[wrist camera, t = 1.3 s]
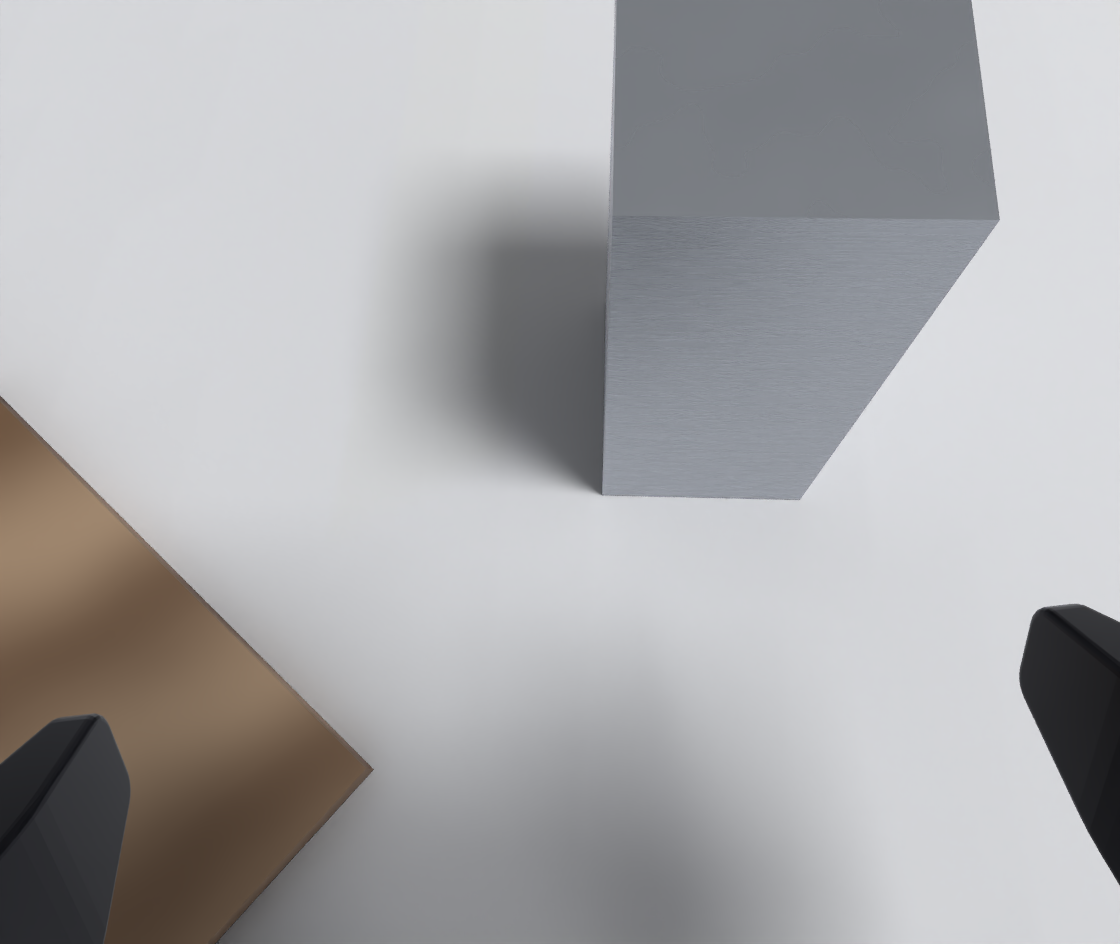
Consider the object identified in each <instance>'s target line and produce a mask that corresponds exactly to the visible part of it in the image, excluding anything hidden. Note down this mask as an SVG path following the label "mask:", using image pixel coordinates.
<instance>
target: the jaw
mask: <svg viewBox="0 0 1120 944" xmlns="http://www.w3.org/2000/svg"><path fill="white" fill-rule="evenodd" d="M999 220H1000V219H999V211H998V203H997V195H996V188H995V180H994V172H993V164H992V157H991V149H990V141H989V133H988V126H987V118H986V110H985V103H984V95H983V87H982V79H981V72H980V64H979V56H978V48H977V41H976V33H975V25H974V18H973V10H972V2H971V0H615V24H614V57H613V90H612V122H611V155H610V187H609V220H608V253H607V285H606V326H605V375H604V425H603V475H602V495H615V496H659V497H703V498H747V499H791V500H800V499H801V497H802V496H803V494H804V493H805V492H806V490H807V489H808V487H809V486H810V485H811V483H812V482H813V480H814V479H815V478H816V476H817V475H818V473H819V472H820V471H821V469H822V468H823V466H824V465H825V464H826V462H827V461H828V459H829V458H830V457H831V455H832V454H833V453H834V451H835V450H836V448H837V447H838V446H839V444H840V443H841V441H842V440H843V439H844V437H845V436H846V434H847V433H848V432H849V430H850V429H851V427H852V426H853V425H854V423H855V422H856V420H857V419H858V418H859V416H860V415H861V413H862V412H863V411H864V409H865V408H866V406H867V405H868V404H869V402H870V401H871V399H872V398H873V397H874V395H875V394H876V392H877V391H878V390H879V388H880V387H881V385H882V384H883V383H884V381H885V380H886V378H887V377H888V376H889V374H890V373H891V371H892V370H893V369H894V367H895V366H896V364H897V363H898V362H899V360H900V359H901V357H902V356H903V355H904V353H905V352H906V350H907V349H908V348H909V346H910V345H911V343H912V342H913V341H914V339H915V338H916V336H917V335H918V334H919V332H920V331H921V329H922V328H923V327H924V325H925V324H926V322H927V321H928V320H929V318H930V317H931V315H932V314H933V313H934V311H935V310H936V308H937V307H938V306H939V304H940V303H941V301H942V300H943V299H944V297H945V296H946V294H947V293H948V292H949V290H950V289H951V287H952V286H953V285H954V283H955V282H956V280H957V279H958V278H959V276H960V275H961V273H962V272H963V271H964V269H965V268H966V266H967V265H968V264H969V262H970V261H971V259H972V258H973V257H974V255H975V254H976V252H977V251H978V250H979V248H980V247H981V245H982V244H983V243H984V241H985V240H986V238H987V237H988V236H989V234H990V233H991V231H992V230H993V229H994V227H995V226H996V224H997V223H998V222H999Z"/></svg>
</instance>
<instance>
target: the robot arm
mask: <svg viewBox="0 0 1120 944" xmlns="http://www.w3.org/2000/svg"><path fill="white" fill-rule="evenodd" d="M1019 680H1020V687H1021V690H1022V694H1023V696H1024V699H1025V701H1026V703H1027V705H1028V707H1029V709H1030V711H1031V713H1032V716H1033V718H1034V720H1035V722H1036V724H1037V726H1038V728H1039V730H1040V733H1041V735H1042V737H1043V739H1044V741H1045V743H1046V745H1047V747H1048V750H1049V752H1050V754H1051V756H1052V758H1053V760H1054V762H1055V764H1056V767H1057V769H1058V771H1059V773H1060V775H1061V777H1062V779H1063V781H1064V783H1065V786H1066V788H1067V790H1068V792H1069V794H1070V796H1071V798H1072V800H1073V803H1074V805H1075V807H1076V809H1077V811H1078V813H1079V815H1080V817H1081V819H1082V821H1083V823H1084V825H1085V827H1086V829H1087V831H1088V833H1089V834H1090V836H1091V838H1092V840H1093V841H1094V843H1095V845H1096V846H1097V848H1098V850H1099V852H1100V853H1101V855H1102V857H1103V859H1104V860H1105V862H1106V863H1107V865H1108V867H1109V868H1110V870H1111V872H1112V873H1113V875H1114V877H1115V878H1116V880H1117V882H1118V883H1119V885H1120V622H1118V621H1116V620H1114V619H1112V618H1110V617H1108V616H1106V615H1103V614H1101V613H1099V612H1097V611H1095V610H1093V609H1091V608H1089V607H1087V606H1084V605H1080V604H1067V605H1059V606H1050V607H1043V608H1041V609H1039V610H1037V611H1036V613H1035V614H1034V615H1033V617H1032V620H1031V623H1030V628H1029V632H1028V636H1027V640H1026V645H1025V649H1024V653H1023V658H1022V662H1021V666H1020V673H1019ZM130 796H131V786H130V778H129V774H128V771H127V769H126V766H125V764H124V761H123V758H122V756H121V753H120V751H119V748H118V746H117V743H116V741H115V738H114V736H113V733H112V731H111V728H110V726H109V724H108V722H107V720H106V719H105V718H104V717H103V716H102V715H99V714H95V713H92V714H83V715H74V716H65V717H60V718H56V719H54V720H52V721H51V722H49V723H48V724H47V725H45V726H44V727H43V728H42V729H41V730H39V731H38V732H37V733H36V734H35V735H33V736H32V737H31V738H30V739H29V740H27V741H26V742H25V743H24V744H23V745H22V746H20V747H19V748H18V749H17V750H16V751H14V752H13V753H12V754H11V755H10V756H8V757H7V758H6V759H5V760H4V761H3V762H1V763H0V944H104V940H105V935H106V930H107V925H108V919H109V914H110V908H111V903H112V897H113V892H114V886H115V881H116V875H117V870H118V865H119V859H120V854H121V848H122V843H123V837H124V832H125V826H126V821H127V815H128V810H129V804H130Z"/></svg>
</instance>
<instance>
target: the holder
mask: <svg viewBox="0 0 1120 944" xmlns="http://www.w3.org/2000/svg"><path fill="white" fill-rule="evenodd" d="M92 713H95V714H99V715H102V716H103V717H104V718H105V719H106V720H107V722H108V724H109V726H110V728H111V731H112V733H113V736H114V738H115V741H116V743H117V746H118V748H119V751H120V753H121V756H122V758H123V761H124V764H125V766H126V769H127V771H128V774H129V778H130V786H131V796H130V804H129V810H128V815H127V821H126V826H125V832H124V837H123V843H122V848H121V854H120V859H119V865H118V870H117V875H116V881H115V886H114V892H113V897H112V903H111V908H110V914H109V919H108V925H107V930H106V935H105V940H104V944H215V943H216V942H217V941H218V940H219V939H220V938H221V937H222V936H223V934H224V933H225V932H226V931H227V930H228V929H229V928H230V927H231V926H232V925H233V923H234V922H235V921H236V920H237V919H238V918H239V917H240V916H241V915H242V914H243V913H244V911H245V910H246V909H247V908H248V907H249V906H250V905H251V904H252V903H253V902H254V900H255V899H256V898H257V897H258V896H259V895H260V894H261V893H262V892H263V891H264V889H265V888H266V887H267V886H268V885H269V884H270V883H271V882H272V881H273V880H274V878H275V877H276V876H277V875H278V874H279V873H280V872H281V871H282V870H283V869H284V867H285V866H286V865H287V864H288V863H289V862H290V861H291V860H292V859H293V858H294V856H295V855H296V854H297V853H298V852H299V851H300V850H301V849H302V848H303V847H304V845H305V844H306V843H307V842H308V841H309V840H310V839H311V838H312V837H313V836H314V834H315V833H316V832H317V831H318V830H319V829H320V828H321V827H322V826H323V825H324V823H325V822H326V821H327V820H328V819H329V818H330V817H331V816H332V815H333V814H334V812H335V811H336V810H337V809H338V808H339V807H340V806H341V805H342V804H343V803H344V802H345V800H346V799H347V798H348V797H349V796H350V795H351V794H352V793H353V792H354V791H355V789H356V788H357V787H358V786H359V785H360V784H361V783H362V782H363V781H364V780H365V778H366V777H367V776H368V775H369V774H370V773H371V772H372V771H373V770H374V769H373V768H372V767H371V766H370V765H369V764H368V763H367V762H366V761H365V760H364V759H363V758H362V757H361V756H360V755H359V754H358V753H357V752H356V751H355V750H354V749H353V748H352V747H351V746H350V745H349V744H348V743H347V742H346V741H345V740H344V739H343V738H342V737H341V736H340V735H339V734H338V733H337V732H336V731H335V730H334V729H333V728H332V727H331V726H330V725H329V724H328V723H327V722H326V721H325V720H324V719H323V718H322V717H321V716H320V715H319V714H318V713H317V712H316V711H315V710H314V709H313V708H312V707H311V706H310V705H309V704H308V703H307V702H306V701H305V700H304V699H303V698H302V697H301V696H300V695H299V694H298V693H297V692H296V691H295V690H294V689H293V688H292V687H291V686H290V685H289V684H288V683H287V682H286V681H285V680H284V679H283V678H282V677H281V676H280V675H279V674H278V673H277V672H276V671H275V670H274V669H273V668H272V667H271V666H270V665H269V664H268V663H267V662H266V661H265V660H264V659H263V658H262V657H261V656H260V655H259V654H258V653H257V652H256V651H255V650H254V649H253V648H252V647H251V646H250V645H249V644H248V643H247V642H246V641H245V640H244V639H243V638H242V637H241V636H240V635H239V634H238V633H237V632H236V631H235V630H234V629H233V628H232V627H231V626H230V625H229V624H228V623H227V622H226V621H225V620H224V619H223V618H222V617H221V616H220V615H219V614H218V613H217V612H216V611H215V610H214V609H213V608H212V607H211V606H210V605H209V604H208V603H207V602H206V601H205V600H204V599H203V598H202V597H201V596H200V595H199V594H198V593H197V592H196V591H195V590H194V589H193V588H192V587H191V586H190V585H189V584H188V583H187V582H186V581H185V580H184V579H183V578H182V577H181V576H180V575H179V574H178V573H177V572H176V571H175V570H174V569H173V568H172V567H171V566H170V565H169V564H168V563H167V562H166V561H165V560H164V559H163V558H162V557H161V556H160V555H159V554H158V553H157V552H156V551H155V550H154V549H153V548H152V547H151V546H150V545H149V544H148V543H147V542H146V541H145V540H144V539H143V538H142V537H141V536H140V535H139V534H138V533H137V532H136V531H135V530H134V529H133V528H132V527H131V526H130V525H129V524H128V523H127V522H126V521H125V520H124V519H123V518H122V517H121V516H120V515H119V514H118V513H117V512H116V511H115V510H114V509H113V508H112V507H111V506H110V505H109V504H108V503H107V502H106V501H105V500H104V499H103V498H102V497H101V496H100V495H99V494H98V493H97V492H96V491H95V490H94V489H93V488H92V487H91V486H90V485H89V484H88V483H87V482H86V481H85V480H84V479H83V478H82V477H81V476H80V475H79V474H78V473H77V472H76V471H75V470H74V469H73V468H72V467H71V466H70V465H69V464H68V463H67V462H66V461H65V460H64V459H63V458H62V457H61V456H60V455H59V454H58V453H57V452H56V451H55V450H54V449H53V448H52V447H51V446H50V445H49V444H48V443H47V442H46V441H45V440H44V439H43V438H42V437H41V436H40V435H39V434H38V433H37V432H36V431H35V430H34V429H33V428H32V427H31V426H30V425H29V424H28V423H27V422H26V421H25V420H24V419H23V418H22V417H21V416H20V415H19V414H18V413H17V412H16V411H15V410H14V409H13V408H12V407H11V406H10V405H9V404H8V403H7V402H6V401H5V400H4V399H3V398H2V397H1V396H0V763H1V762H3V761H4V760H5V759H6V758H7V757H8V756H10V755H11V754H12V753H13V752H14V751H16V750H17V749H18V748H19V747H20V746H22V745H23V744H24V743H25V742H26V741H27V740H29V739H30V738H31V737H32V736H33V735H35V734H36V733H37V732H38V731H39V730H41V729H42V728H43V727H44V726H45V725H47V724H48V723H49V722H51V721H52V720H54V719H56V718H60V717H65V716H74V715H83V714H92Z"/></svg>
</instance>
